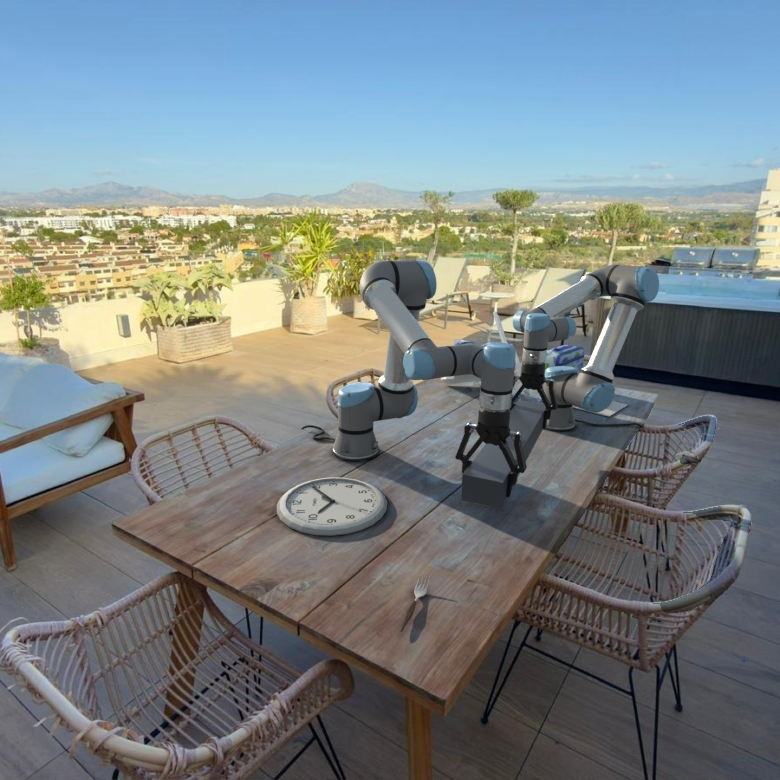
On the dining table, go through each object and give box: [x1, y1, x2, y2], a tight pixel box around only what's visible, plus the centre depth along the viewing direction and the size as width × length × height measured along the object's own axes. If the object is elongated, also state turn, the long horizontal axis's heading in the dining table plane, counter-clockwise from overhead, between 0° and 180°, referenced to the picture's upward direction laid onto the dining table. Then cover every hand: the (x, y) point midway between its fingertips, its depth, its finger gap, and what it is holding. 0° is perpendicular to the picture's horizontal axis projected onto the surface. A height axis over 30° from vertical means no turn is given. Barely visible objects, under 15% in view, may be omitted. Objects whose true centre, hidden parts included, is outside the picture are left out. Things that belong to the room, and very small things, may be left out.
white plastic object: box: [440, 310, 531, 397], centre depth 245 cm, size 37×45×31 cm
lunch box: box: [542, 344, 585, 387], centre depth 246 cm, size 26×11×21 cm, turn 135°
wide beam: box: [460, 399, 546, 510], centre depth 154 cm, size 65×10×7 cm, turn 155°
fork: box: [400, 573, 431, 633], centre depth 105 cm, size 3×16×2 cm, turn 160°
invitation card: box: [573, 400, 629, 418], centre depth 226 cm, size 21×1×15 cm
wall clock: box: [276, 476, 388, 537], centre depth 142 cm, size 30×2×30 cm
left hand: (487, 490), depth 132 cm, fingers closed on wide beam, 10 cm apart
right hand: (528, 425), depth 177 cm, fingers closed on wide beam, 10 cm apart
